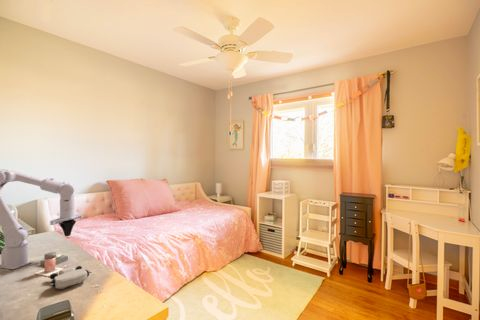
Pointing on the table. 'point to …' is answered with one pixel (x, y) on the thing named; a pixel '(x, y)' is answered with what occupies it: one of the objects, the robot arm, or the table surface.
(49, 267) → the marker
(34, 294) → the table surface
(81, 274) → the robot toy
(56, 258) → the button
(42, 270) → the cream rectangular plate
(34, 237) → the table surface
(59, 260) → the button housing
